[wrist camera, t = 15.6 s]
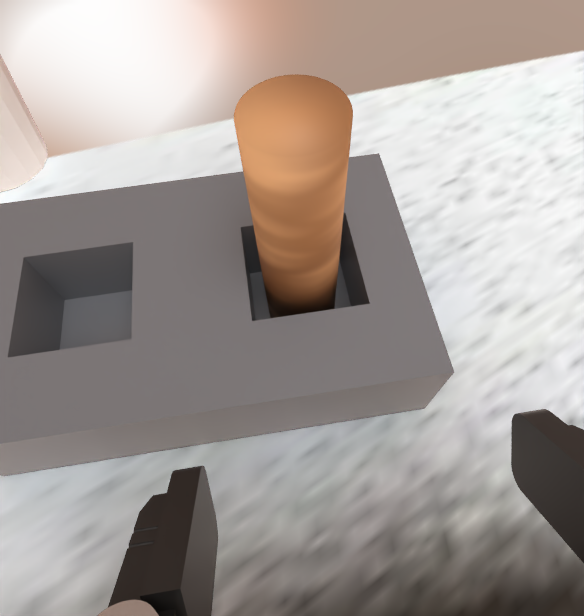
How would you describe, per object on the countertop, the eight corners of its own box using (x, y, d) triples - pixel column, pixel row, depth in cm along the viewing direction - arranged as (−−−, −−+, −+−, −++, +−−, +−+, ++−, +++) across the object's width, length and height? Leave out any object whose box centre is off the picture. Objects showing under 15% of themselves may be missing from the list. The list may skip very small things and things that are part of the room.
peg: (273, 342, 23) (238, 163, 12) (265, 284, 24) (229, 82, 14) (339, 332, 23) (364, 147, 12) (328, 275, 24) (340, 68, 14)
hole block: (4, 475, 21) (-76, 455, 17) (35, 263, 27) (-19, 206, 22) (424, 408, 22) (454, 372, 17) (367, 216, 28) (379, 153, 23)
